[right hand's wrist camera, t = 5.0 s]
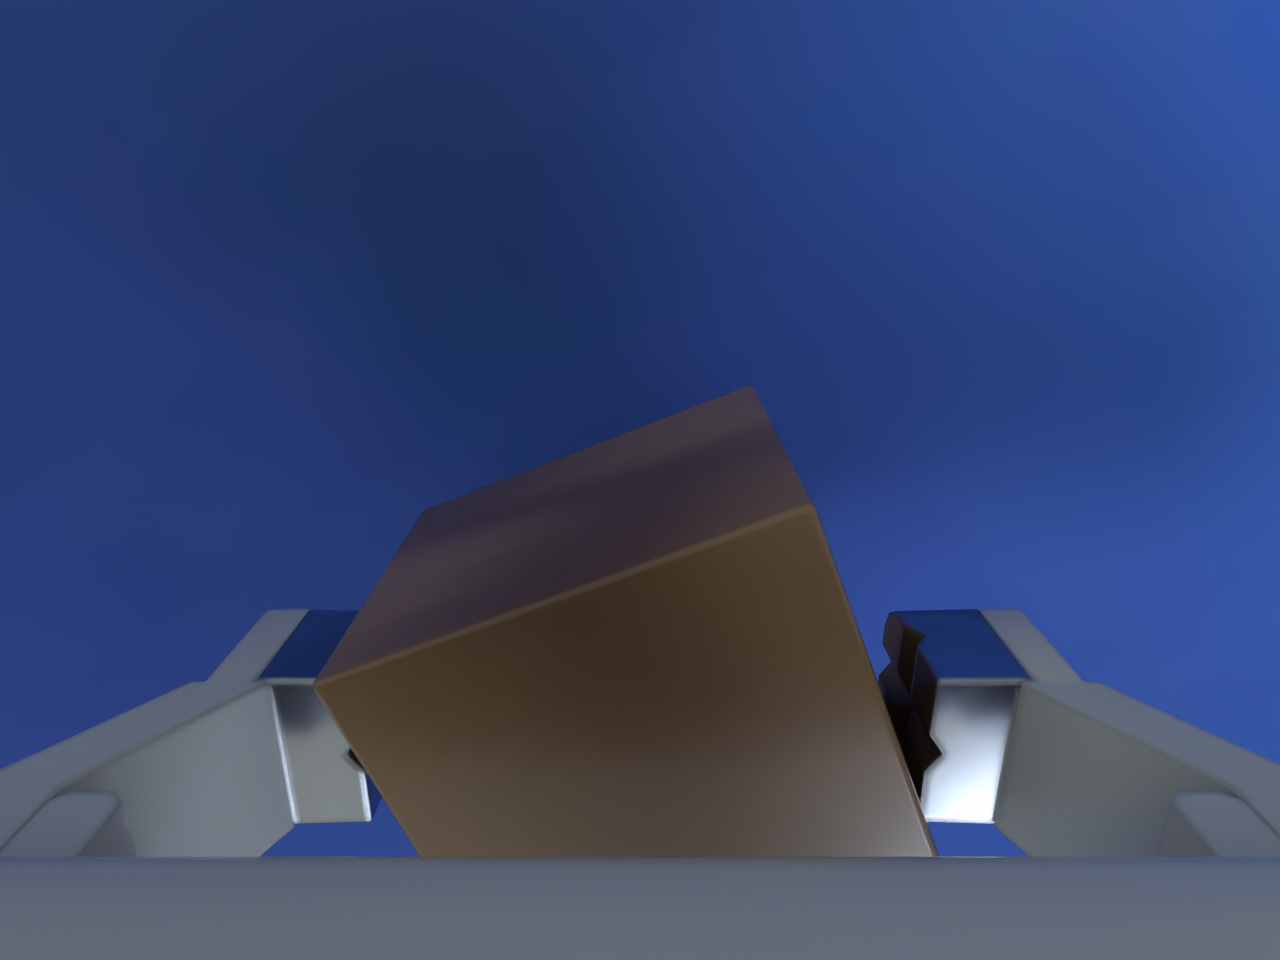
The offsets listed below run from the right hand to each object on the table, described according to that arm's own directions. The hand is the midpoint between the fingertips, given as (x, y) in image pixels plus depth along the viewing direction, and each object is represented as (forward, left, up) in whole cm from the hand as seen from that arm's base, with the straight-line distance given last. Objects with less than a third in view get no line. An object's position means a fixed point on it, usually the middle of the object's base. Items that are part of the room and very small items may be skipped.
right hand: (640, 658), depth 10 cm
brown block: (0, 0, -2) cm, 2 cm away
